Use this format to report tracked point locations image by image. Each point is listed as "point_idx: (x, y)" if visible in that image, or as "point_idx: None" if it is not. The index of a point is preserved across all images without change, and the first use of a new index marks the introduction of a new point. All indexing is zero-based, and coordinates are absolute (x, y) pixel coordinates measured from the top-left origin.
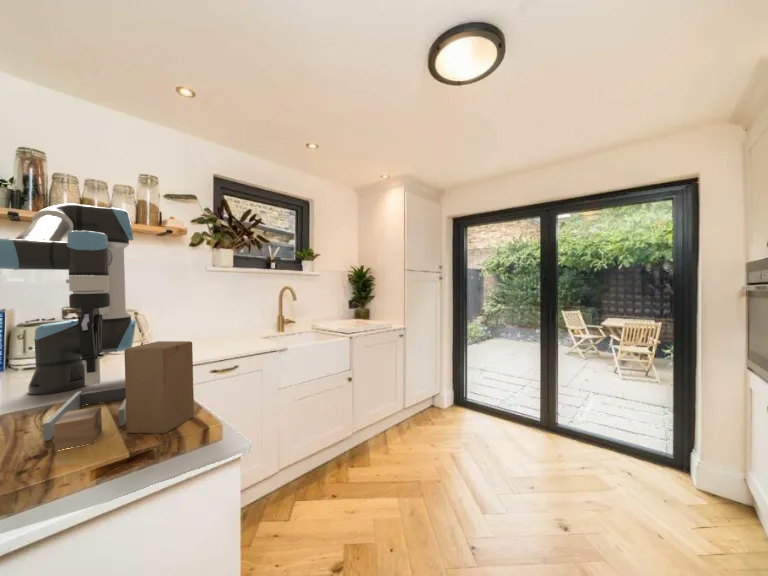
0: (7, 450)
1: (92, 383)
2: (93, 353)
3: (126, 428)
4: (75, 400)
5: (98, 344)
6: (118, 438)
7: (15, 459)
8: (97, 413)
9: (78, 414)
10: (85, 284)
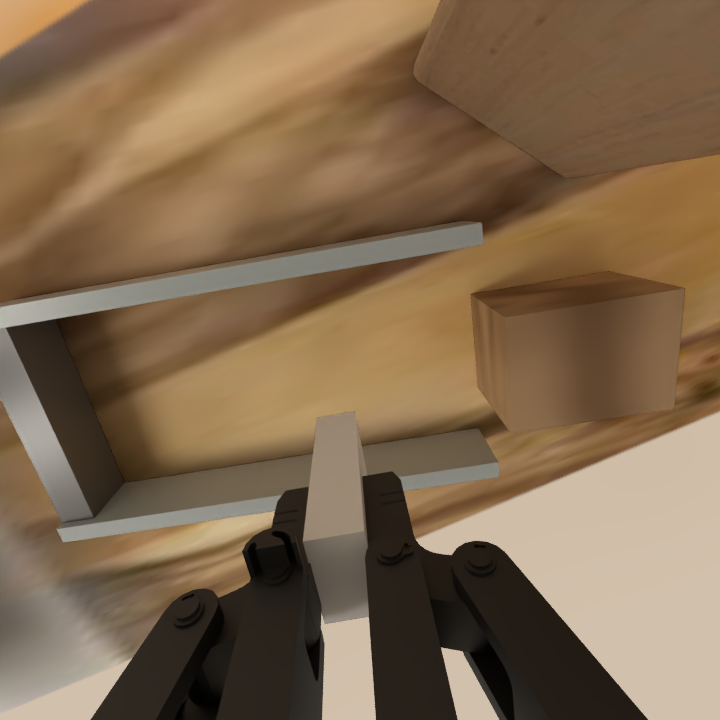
0: (500, 502)
1: (360, 443)
2: (531, 592)
3: (576, 177)
4: (169, 503)
5: (287, 706)
6: (608, 194)
7: (591, 450)
8: (583, 301)
9: (587, 369)
10: None
